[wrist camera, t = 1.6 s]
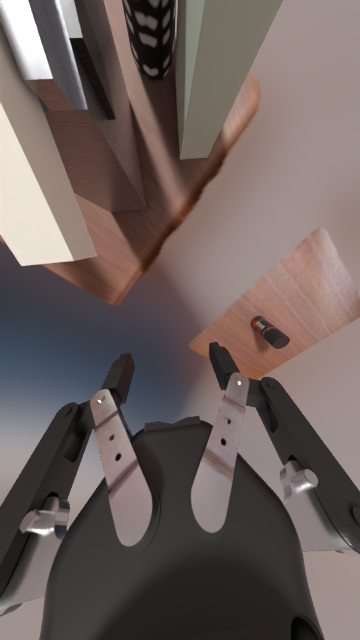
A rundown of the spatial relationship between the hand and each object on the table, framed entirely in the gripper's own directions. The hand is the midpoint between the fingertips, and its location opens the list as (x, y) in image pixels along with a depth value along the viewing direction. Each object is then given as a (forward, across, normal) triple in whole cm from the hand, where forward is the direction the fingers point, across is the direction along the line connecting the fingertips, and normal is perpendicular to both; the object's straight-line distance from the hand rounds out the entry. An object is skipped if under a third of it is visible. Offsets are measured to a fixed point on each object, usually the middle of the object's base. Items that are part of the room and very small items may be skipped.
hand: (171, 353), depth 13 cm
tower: (+38, -9, +27) cm, 48 cm away
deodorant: (+39, +38, -25) cm, 60 cm away
